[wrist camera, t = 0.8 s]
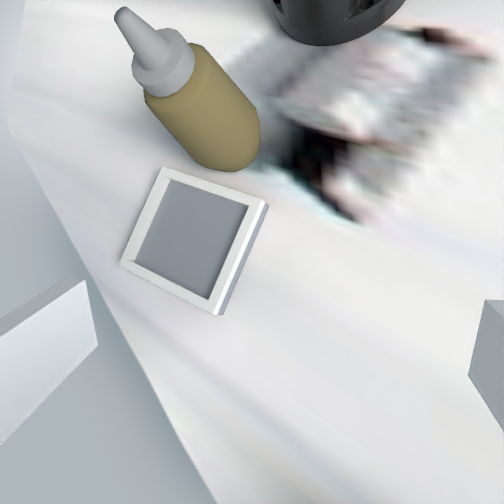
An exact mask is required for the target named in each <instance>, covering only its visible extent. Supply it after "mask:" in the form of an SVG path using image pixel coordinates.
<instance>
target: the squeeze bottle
mask: <svg viewBox="0 0 504 504" xmlns="http://www.w3.org/2000/svg"><path fill="white" fill-rule="evenodd" d="M114 21H115V22H116V24H117V26H118V27H119V29H120V31H121V32H122V34H123V36H124V37H125V39H126V41H127V42H128V44H129V46H130V47H131V49H132V51H133V52H134V56H133V61H132V72H133V76H134V78H135V79H136V80H137V82H138V83H139V84H140V85H141V86H142V87H143V88H144V89H143V91H144V98H145V103H146V104H147V106H148V107H149V108H150V110H151V111H152V112H153V114H154V115H155V116H156V117H157V118H158V119H159V120H160V122H161V123H162V124H163V125H164V126H165V127H166V128H167V129H168V131H169V132H170V133H171V134H172V135H173V136H174V137H175V139H176V140H177V141H178V142H179V143H180V144H181V145H182V147H183V148H184V149H185V150H186V151H187V152H188V153H189V155H190V156H191V157H192V158H193V159H194V160H195V161H196V163H199V164H201V165H203V166H205V167H207V168H210V169H215V170H220V171H225V172H236V171H239V170H241V169H244V168H246V167H247V166H248V165H249V164H250V163H251V162H252V161H254V159H255V157H256V155H257V154H258V152H259V147H260V126H259V119H258V115H257V111H256V108H255V107H254V105H253V104H252V103H251V102H250V101H249V99H248V98H247V97H246V96H245V95H244V94H243V92H242V91H241V90H240V89H239V88H238V87H237V85H236V84H235V83H234V82H233V81H232V79H231V78H230V77H229V76H228V75H227V74H226V72H225V71H224V70H223V69H222V68H221V66H220V65H219V64H218V63H217V62H216V61H215V59H214V58H213V57H212V56H211V55H210V54H209V52H208V51H207V50H206V49H205V48H204V47H203V46H201V45H198V44H194V43H187V42H186V40H185V39H184V38H183V36H182V35H181V34H180V33H179V32H178V31H177V30H174V29H170V28H165V29H160V30H157V31H156V30H155V29H154V28H152V27H151V26H150V25H149V24H147V23H146V22H145V21H144V20H142V19H141V18H140V17H139V16H137V15H136V14H135V13H134V12H132V11H131V10H130V9H129V8H127V7H121V8H120V9H119V10H118V11H117V12H116V13H115V16H114Z"/></svg>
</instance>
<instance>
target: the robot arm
mask: <svg viewBox="0 0 504 504" xmlns="http://www.w3.org/2000/svg"><path fill="white" fill-rule="evenodd" d="M404 2H405V0H271V3H272V6H273V9H274V12H275V14H276V17H277V20H278V22H279V24H280V26H281V27H282V28H283V30H284V31H285V32H286V33H287V34H288V35H290V36H291V37H292V38H294V39H296V40H298V41H300V42H303V43H307V44H312V45H334V44H339V43H344V42H347V41H350V40H353V39H356V38H358V37H361V36H363V35H365V34H367V33H369V32H371V31H372V30H374V29H376V28H377V27H379V26H380V25H381V24H383V23H384V22H385V21H387V20H388V19H389V18H390V17H391V16H392V15H393V14H394V13H395V12H396V11H397V10H398V9H399V8H400V7H401V6H402V4H403V3H404ZM97 346H98V343H97V338H96V333H95V328H94V323H93V318H92V313H91V308H90V302H89V297H88V292H87V287H86V282H85V279H64V280H62V281H61V282H59V283H58V284H56V285H54V286H53V287H51V288H50V289H48V290H46V291H45V292H43V293H42V294H40V295H38V296H37V297H35V298H34V299H32V300H30V301H29V302H27V303H26V304H24V305H22V306H21V307H19V308H17V309H16V310H14V311H13V312H11V313H9V314H8V315H6V316H4V317H3V318H1V319H0V446H1V445H2V444H3V443H4V442H5V441H6V440H7V438H8V437H9V436H10V435H11V434H12V433H13V432H14V431H15V430H16V429H17V428H18V427H19V426H20V425H21V424H22V423H23V422H24V421H25V420H26V419H27V418H28V417H29V416H30V415H31V414H32V413H33V412H34V411H35V410H36V409H37V408H38V406H39V405H40V404H41V403H42V402H43V401H44V400H45V399H46V398H47V397H48V396H49V395H50V394H51V393H52V392H53V391H54V390H55V389H56V388H57V387H58V386H59V385H60V384H61V383H62V382H63V381H64V379H66V378H67V377H68V375H70V374H71V372H72V371H73V370H74V369H75V368H76V367H77V366H78V365H79V364H80V363H81V362H82V361H83V360H84V359H85V358H86V357H87V356H88V355H89V354H90V353H91V352H92V351H93V350H94V349H95V348H96V347H97ZM468 376H469V378H470V379H471V381H472V383H473V384H474V386H475V387H476V389H477V390H478V392H479V394H480V395H481V397H482V398H483V400H484V401H485V403H486V405H487V406H488V408H489V409H490V411H491V412H492V414H493V416H494V417H495V419H496V420H497V422H498V423H499V425H500V427H501V428H502V430H503V431H504V300H485V302H484V307H483V311H482V315H481V320H480V324H479V328H478V333H477V337H476V342H475V346H474V350H473V355H472V359H471V363H470V368H469V372H468Z"/></svg>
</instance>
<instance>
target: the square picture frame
mask: <svg viewBox="0 0 504 504" xmlns="http://www.w3.org/2000/svg"><path fill="white" fill-rule="evenodd" d="M268 208H269V206H268V205H267V204H266V203H265V202H264V201H263V200H262V199H260V198H257V197H254V196H251V195H248V194H245V193H242V192H239V191H236V190H233V189H230V188H227V187H224V186H221V185H218V184H215V183H212V182H209V181H206V180H203V179H200V178H197V177H193V176H190V175H187V174H184V173H181V172H178V171H175V170H172V169H169V168H166V167H163V166H162V167H161V170H160V172H159V174H158V176H157V179H156V181H155V183H154V185H153V188H152V190H151V192H150V194H149V197H148V199H147V201H146V203H145V206H144V208H143V210H142V212H141V215H140V217H139V219H138V221H137V224H136V226H135V228H134V230H133V233H132V235H131V237H130V239H129V242H128V244H127V246H126V248H125V250H124V253H123V255H122V257H121V259H120V262H119V264H118V265H119V266H121V267H123V268H124V269H126V270H128V271H130V272H132V273H134V274H136V275H138V276H140V277H142V278H144V279H145V280H147V281H149V282H151V283H153V284H155V285H157V286H159V287H161V288H163V289H165V290H166V291H168V292H170V293H172V294H174V295H176V296H178V297H180V298H182V299H184V300H186V301H187V302H189V303H191V304H193V305H195V306H197V307H199V308H201V309H203V310H205V311H206V312H208V313H210V314H212V315H223V313H224V311H225V308H226V306H227V304H228V301H229V299H230V297H231V294H232V292H233V290H234V287H235V285H236V283H237V280H238V278H239V276H240V273H241V271H242V269H243V266H244V264H245V262H246V259H247V257H248V255H249V252H250V250H251V248H252V245H253V243H254V241H255V238H256V236H257V234H258V231H259V229H260V227H261V224H262V222H263V220H264V217H265V215H266V213H267V210H268Z"/></svg>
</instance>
